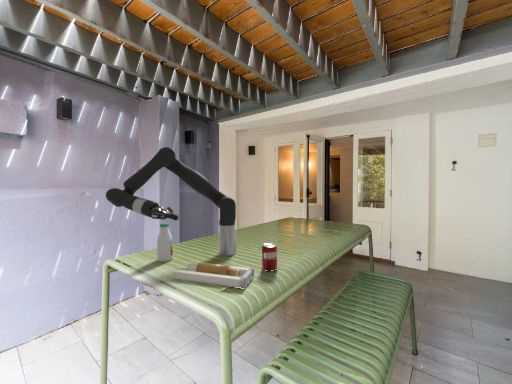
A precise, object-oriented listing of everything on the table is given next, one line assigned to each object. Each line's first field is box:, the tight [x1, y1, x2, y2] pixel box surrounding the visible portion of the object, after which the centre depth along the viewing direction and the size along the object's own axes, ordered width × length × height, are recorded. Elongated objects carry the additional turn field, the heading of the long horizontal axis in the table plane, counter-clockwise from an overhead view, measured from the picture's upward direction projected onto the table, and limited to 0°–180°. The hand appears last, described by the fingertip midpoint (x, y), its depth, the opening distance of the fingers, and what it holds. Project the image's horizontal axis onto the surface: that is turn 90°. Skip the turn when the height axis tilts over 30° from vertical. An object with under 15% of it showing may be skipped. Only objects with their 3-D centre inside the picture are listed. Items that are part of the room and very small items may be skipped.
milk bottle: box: [156, 222, 174, 263], centre depth 129 cm, size 8×8×20 cm
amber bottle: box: [196, 262, 240, 277], centre depth 104 cm, size 6×6×19 cm
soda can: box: [261, 242, 278, 271], centre depth 115 cm, size 7×7×12 cm
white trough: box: [173, 261, 255, 289], centre depth 105 cm, size 32×13×4 cm, turn 73°
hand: (177, 218), depth 111 cm, fingers closed
